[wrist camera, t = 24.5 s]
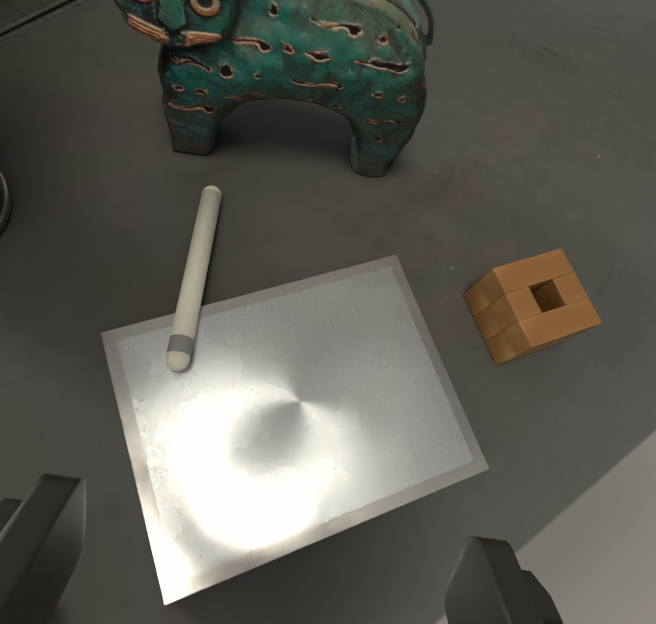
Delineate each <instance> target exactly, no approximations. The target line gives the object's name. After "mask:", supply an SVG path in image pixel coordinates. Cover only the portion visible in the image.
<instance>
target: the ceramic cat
mask: <svg viewBox="0 0 656 624" xmlns="http://www.w3.org/2000/svg"><path fill="white" fill-rule="evenodd" d="M114 1H115V3H116V5H117V6H118V8H119V10H120V12H121V14H122V16H123V18H124V20H125V21H126V23H127V24H128V25H129V26H130V27H132V28H133V29H134V30H136V31H137V32H139V33H140V34H142V35H144V36H146V37H148V38H150V39H152V40H154V41H157V42H159V43H161V47H160V52H159V60H158V72H159V76H160V82H161V86H162V89H163V99H162V105H163V112H164V114H165V117H166V119H167V123H168V126H169V130H170V135H171V140H172V145H173V151H178V152H184V153H191V154H199V155H207V154H209V153H211V151H212V150H213V148H214V145H215V142H216V132H217V127H218V125H219V123H220V122H221V121H222V120H223V119H224V118H225V117H226V116H227V115H228V114H229V113H230V112H231V111H233V110H234V109H235V108H237V107H238V106H239V105H241V104H242V103H244V102H247V101H252V100H266V99H292V100H297V101H304V102H311V103H315V104H318V105H321V106H324V107H326V108H329V109H331V110H333V111H335V112H337V113H340V114H341V115H343V116H344V117H346V118H347V120H348V121H349V122H350V125H351V128H352V130H353V133H354V136H353V139H352V141H351V157H350V158H351V167H352V169H353V171H354V172H355V173H358V174H361V175H364V176H382V175H384V174H385V173H386V171H387V170H388V168H389V167H390V165H391V164H392V162H393V161H394V159H395V158H396V157H397V156H398V154H399V153H400V151H401V150H402V149H403V147H404V146H405V145H406V144H407V143H408V141H409V140H410V139H411V137H412V136H413V134H414V131H415V128H416V126H417V124H418V122H419V121H420V119H421V116H422V114H423V111H424V109H425V106H426V101H427V84H426V78H425V64H424V63H425V59H426V46H427V45H430V44H432V41H433V33H434V19H433V12H432V8H431V6H430V3H429V0H418V2H419V3H420V5H421V6H422V8H423V9H424V11H425V13H426V15H427V18H428V26H429V28H428V34H427V36H426V35H424V31H423V27H422V24H421V21H420V19H419V17H418V15H417V13H416V11H415V10H414V8H413V6H412V4H411V3H410V2H409V1H408V0H114Z"/></svg>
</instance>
